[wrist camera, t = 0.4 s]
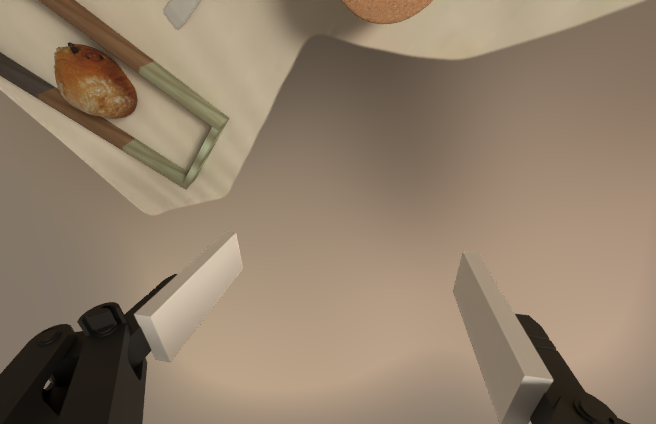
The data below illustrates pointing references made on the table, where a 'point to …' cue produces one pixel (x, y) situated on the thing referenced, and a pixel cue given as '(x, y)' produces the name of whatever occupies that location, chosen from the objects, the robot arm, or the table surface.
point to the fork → (179, 11)
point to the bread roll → (93, 82)
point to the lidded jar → (386, 9)
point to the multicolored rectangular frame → (105, 36)
